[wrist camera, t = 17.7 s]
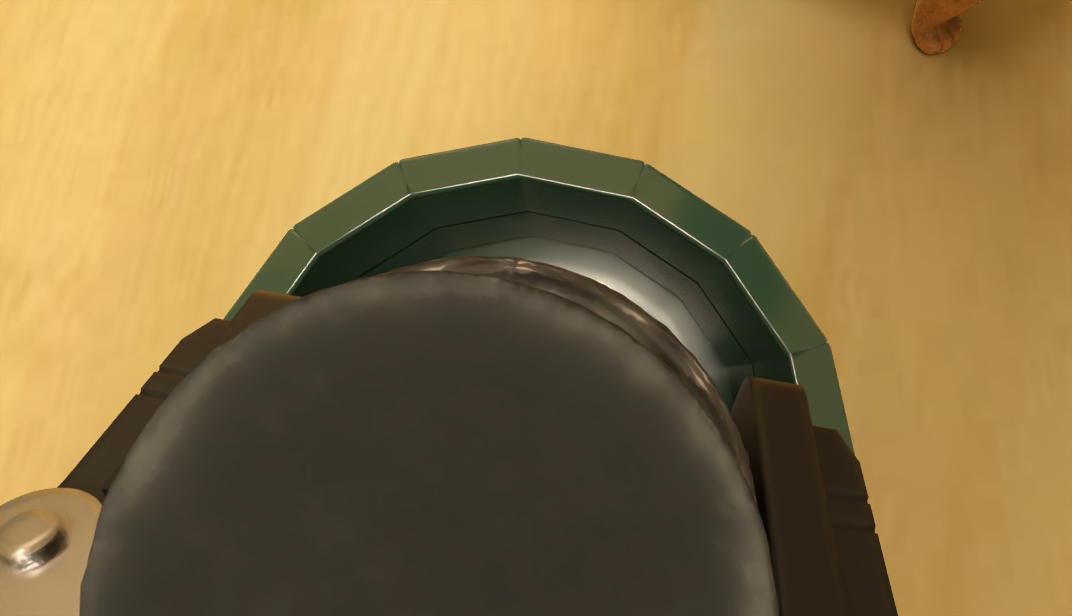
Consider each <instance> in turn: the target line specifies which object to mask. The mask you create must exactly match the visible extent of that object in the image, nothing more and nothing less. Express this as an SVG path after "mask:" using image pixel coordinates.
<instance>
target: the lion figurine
mask: <svg viewBox="0 0 1072 616" xmlns="http://www.w3.org/2000/svg"><path fill="white" fill-rule="evenodd" d="M980 1H982V0H917V2H916V6H915V11H914V15H913V19H912V24H911V31H912V34H913V37H914V40H915V43H916V44H917V46H918V47H919V48H920V49H921V50H922V51H923V52H926V53H928V54H936V53H941V52H944V51H946V50H948V49H949V48H950V47H951V46H952V45H954V44H955V43H956V41H957V40H958V39H959V37H960V35H961V34H960V29H961V27H962V20H961V19H960V18H959V17H957V15H959V14H960V13H962V12H963V11H965V10H967V9H968V8H970V7H971V6H973V5H975V4H977V3H979V2H980Z"/></svg>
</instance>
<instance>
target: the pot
mask: <svg viewBox="0 0 1072 616" xmlns="http://www.w3.org/2000/svg"><path fill="white" fill-rule="evenodd" d="M293 228H294V229H290V230H289V231H288V232H287V234H286V235H285V236H284V238H283V239H282V240H281V242H280V243H279V244H278V246H277V247H276V249H275V250H274V251H273V253H272V254H271V255H270V257H269V258H268V259H267V261H266V262H265V263H264V265H263V266H262V268H261V269H260V270H259V272H258V273H257V274H256V276H255V277H254V278H253V280H252V281H251V282H250V284H249V285H248V287H247V288H246V289H245V291H244V292H243V293H242V295H241V296H240V297H239V299H238V300H237V301H236V303H235V304H234V305H233V307H232V308H231V310H230V311H229V312H228V314H227V315H226V316H225V318H224V319H223V320H228V321H231V320H232V319H233V317H234V316H235V315H236V314H237V312H238V311H239V310H240V308H241V307H242V306H243V304H244V303H245V302H246V301H247V299H248V298H249V297H250V296H251V295H252V294H253V293H254V292H255V291H258V290H264V291H270V292H276V293H281V294H287V295H293V296H299V297H304V296H306V295H309V294H311V293H314V292H316V291H319V290H322V289H326V288H330V287H334V286H337V285H340V284H343V283H346V282H349V281H353V280H356V279H359V278H365V277H371V276H377V275H378V274H383V273H387V272H390V271H391V270H393V269H396V268H401V267H405V266H412V265H416V264H419V263H422V262H426V261H430V260H435V259H447V258H455V257H460V256H486V257H490V258H493V257H518V258H521V259H525V260H528V261H537V262H541V263H546V264H550V265H555V266H556V267H561V268H564V269H567V270H569V271H571V272H576V273H578V274H580V275H582V276H586V277H589V278H591V279H593V280H596V281H597V282H599V283H602V284H604V285H607V286H608V287H609V288H610V289H613V290H615V291H618V292H619V293H621V294H623V295H624V296H626V297H627V298H628V299H629V300H631V301H633V302H634V303H636V304H637V305H638V306H640V307H641V308H642V309H643V310H644V311H645V312H646V313H648V314H649V315H650V316H652V317H653V318H654V319H656V320H658V321H660V322H661V323H663V324H664V325H666V326H667V327H668V328H669V329H670V331H671V332H672V333H673V334H674V335H675V336H676V337H677V338H678V340H679V341H680V342H681V343H682V344H683V345H684V346H685V347H686V348H687V349H688V350H689V351H691V352H692V353H693V354H694V355H695V357H696V358H697V360H698V361H699V362H700V364H701V365H702V366H703V368H704V369H705V371H706V372H707V374H708V375H709V376H710V377H711V378H712V379H713V381H714V383H715V386H716V388H717V389H718V394H719V395H720V397H721V398H722V399H723V401H724V402H725V403H726V405H727V406H728V409H729V412H730V413H731V410H732V407H733V405H734V402H735V400H736V397H737V394H738V392H739V389H740V386H741V384H742V382H743V380H744V379H745V378H746V377H747V376H751V377H757V378H763V379H768V380H774V381H780V382H785V383H791V384H797V385H801V386H803V388H804V389H805V392H806V396H807V401H808V406H809V411H810V416H811V421H812V426H818V427H823V428H829V429H835V430H837V431H838V433H839V434H840V436H841V437H842V438H843V440H844V441H845V443H846V444H847V445H848V447H849V448H850V450H851V451H852V452H853V454H854V450H853V445H852V441H851V436H850V432H849V427H848V423H847V418H846V414H845V409H844V405H843V400H842V396H841V391H840V387H839V383H838V378H837V374H836V369H835V365H834V360H833V356H832V351H831V347H830V345H829V343H826V342H827V339H826V337H825V336H824V334H823V333H822V331H821V330H820V328H819V327H818V325H817V324H816V323H815V321H814V320H813V318H812V317H811V315H810V314H809V312H808V311H807V310H806V308H805V307H804V305H803V304H802V302H801V301H800V300H799V298H798V297H797V295H796V294H795V292H794V291H793V289H792V288H791V287H790V285H789V284H788V282H787V281H786V279H785V278H784V276H783V275H782V274H781V272H780V271H779V269H778V268H777V266H776V265H775V263H774V262H773V261H772V259H771V258H770V256H769V255H768V253H767V252H766V250H765V249H764V248H763V246H762V245H761V243H760V242H759V240H758V239H757V238H756V237H755V236H754V235H751V232H750V231H749V230H748V229H746V228H745V227H743V226H742V225H740V224H739V223H737V222H736V221H734V220H733V219H731V218H730V217H728V216H727V215H725V214H723V213H722V212H720V211H719V210H717V209H716V208H714V207H713V206H711V205H710V204H708V203H707V202H705V201H704V200H702V199H701V198H699V197H698V196H696V195H695V194H693V193H691V192H690V191H688V190H687V189H685V188H684V187H682V186H681V185H679V184H678V183H676V182H675V181H673V180H672V179H670V178H669V177H667V176H666V175H664V174H663V173H661V172H659V171H658V170H656V169H655V168H653V167H652V166H650V165H647V164H644V162H643V161H639V160H634V159H629V158H624V157H619V156H614V155H609V154H604V153H599V152H594V151H589V150H584V149H579V148H574V147H569V146H564V145H559V144H554V143H549V142H544V141H539V140H534V139H529V138H522V139H519V138H515V139H509V140H504V141H499V142H493V143H488V144H482V145H477V146H472V147H466V148H461V149H455V150H450V151H445V152H439V153H434V154H428V155H423V156H418V157H412V158H407V159H402V160H400V162H399V163H398V162H395V163H393V164H391V165H390V166H388V167H387V168H385V169H383V170H382V171H380V172H379V173H377V174H375V175H374V176H372V177H371V178H369V179H367V180H366V181H364V182H363V183H361V184H360V185H358V186H356V187H355V188H353V189H352V190H350V191H348V192H347V193H345V194H344V195H342V196H340V197H339V198H337V199H336V200H334V201H332V202H331V203H329V204H328V205H326V206H324V207H323V208H321V209H320V210H318V211H317V212H315V213H313V214H312V215H310V216H309V217H307V218H305V219H304V220H302V221H301V222H299V223H297V224H296V225H295V226H294V227H293ZM854 455H855V454H854Z"/></svg>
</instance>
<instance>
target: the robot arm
mask: <svg viewBox="0 0 1072 616" xmlns="http://www.w3.org/2000/svg"><path fill="white" fill-rule="evenodd" d="M298 298H301V297H299V296H293V295H287V294H281V293H276V292H270V291H264V290H258V291H255V292H254V293H253V294H252V295H251V296H250V297H249V298H248V299H247V301H246V302H245V303H244V304H243V306H242V307H241V308H240V310H239V311H238V312H237V314H236V315H235V316H234V317H233V319H232V320H231V321H228V320H222V319H216V318H215V319H213V320H212V321H210V322H209V323H207V324H205V325H204V326H202V327H201V328H199V329H197V330H196V331H194V332H193V333H191V334H189V335H188V336H186V337H185V338H183V339H182V340H181V341H180V342H179V343H178V345H177V346H176V347H175V348H174V349H173V351H172V352H171V353H170V354H169V355H168V357H167V358H166V359H165V360H164V361H163V363H162V364H161V365H160V366H159V367H160V369H159V371H158V372H154V373H153V375H152V376H151V377H150V378H149V379H148V381H147V382H146V383H145V384H144V385H143V387H142V388H141V392H140V394H139V395H137V394H136V395H135V396H134V397H133V399H132V400H131V401H130V402H129V403H128V405H127V406H126V407H125V408H124V409H123V411H122V412H121V413H120V414H119V415H118V417H117V418H116V419H115V420H114V421H113V423H112V424H111V425H110V426H109V427H108V429H107V430H106V431H105V432H104V433H103V434H102V436H101V437H100V438H99V439H98V440H97V442H96V443H95V444H94V445H93V446H92V448H91V449H90V450H89V451H88V452H87V454H86V455H85V456H84V457H83V458H82V460H81V461H80V462H79V463H78V464H77V466H76V467H75V468H74V469H73V470H72V472H71V473H70V474H69V475H68V476H67V478H66V479H65V480H64V481H63V482H62V483H61V484H60V485H59V486H58V487H57V488H52V489H44V490H39V491H35V492H31V493H28V494H25V495H23V496H20V497H18V498H15V499H13V500H11V501H9V502H7V503H5V504H3V505H2V506H0V616H79V611H80V585H81V582H82V579H83V576H84V573H85V570H86V567H87V561H88V556H89V553H90V549H91V546H92V543H93V538H94V534H95V529H96V525H97V521H98V518H99V515H100V511H101V508H102V505H103V502H104V500H105V497H106V495H107V493H108V491H109V488H110V486H111V484H112V482H113V481H114V479H115V477H116V476H117V474H118V473H119V471H120V469H121V468H122V465H123V463H124V461H125V459H126V456H127V454H128V452H129V450H130V449H131V447H132V445H133V444H134V442H135V441H136V439H137V438H138V436H139V434H140V433H141V431H142V430H143V428H144V427H145V426H146V424H147V423H148V421H149V420H150V418H151V417H152V415H153V414H154V413H155V411H156V410H157V409H158V408H159V407H160V405H161V404H162V403H163V402H164V400H165V399H166V398H167V397H168V395H169V394H170V393H171V392H172V391H173V389H174V388H175V387H176V386H177V385H178V384H179V383H180V381H181V380H182V379H184V378H185V377H186V376H187V375H188V374H189V373H190V372H191V371H192V370H193V369H194V368H195V367H197V366H198V365H199V364H200V363H201V362H202V361H203V360H204V359H205V357H206V356H207V355H208V354H209V353H210V352H211V351H212V350H213V349H214V348H215V347H217V346H218V345H220V344H222V343H224V342H225V341H227V340H229V339H230V338H232V337H233V336H235V335H236V334H238V333H239V332H241V331H242V330H244V329H245V328H247V327H248V326H249V325H250V324H251V323H253V322H255V321H257V320H259V319H260V318H262V317H264V316H265V315H266V314H268V313H270V312H272V311H274V310H276V309H278V308H280V307H282V306H284V305H286V304H288V303H290V302H291V301H293V300H296V299H298ZM730 415H731V418H732V419H733V421H734V423H735V424H736V426H737V428H738V430H739V433H740V435H741V438H742V442H743V446H744V448H745V450H746V452H747V453H748V455H749V458H750V470H751V472H752V475H753V478H754V482H753V484H754V487H755V496H756V499H757V506H758V510H759V513H760V516H761V519H762V522H763V525H764V528H765V532H766V536H767V540H768V544H769V550H770V556H771V563H772V569H773V576H774V582H775V587H776V592H777V598H778V605H779V616H898V614H897V610H896V606H895V602H894V598H893V594H892V590H891V586H890V582H889V578H888V574H887V570H886V566H885V562H884V558H883V554H882V550H881V546H880V542H879V538H878V534H876V533H875V522H874V518H873V514H872V510H871V506H870V504H868V503H867V500H868V494H867V490H866V486H865V482H864V478H863V474H862V470H861V466H860V462H859V461H858V460H857V458H856V457H855V455H854V454H853V452H852V451H851V450H850V448H849V447H848V445H847V444H846V443H845V441H844V440H843V438H842V437H841V436H840V434H839V433H838V431H837V430H835V429H829V428H823V427H818V426H812V421H811V416H810V411H809V406H808V401H807V396H806V392H805V389H804V388H803V386H801V385H797V384H791V383H785V382H780V381H774V380H768V379H763V378H757V377H751V376H747V377H746V378H745V379H744V380H743V382H742V384H741V386H740V389H739V392H738V394H737V397H736V400H735V402H734V405H733V407H732V410H731V413H730Z"/></svg>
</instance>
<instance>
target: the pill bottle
mask: <svg viewBox="0 0 1072 616" xmlns="http://www.w3.org/2000/svg"><path fill="white" fill-rule="evenodd" d="M753 482H754V478H753V475H752V472H751V470H750V458H749V455H748V453H747V452H746V450H745V448H744V446H743V442H742V438H741V435H740V433H739V430H738V428H737V426H736V424H735V423H734V421H733V419H732V418H731V415H730V412H729V409H728V406H727V405H726V403H725V402H724V401H723V399H722V398H721V397H720V395H719V394H718V389H717V388H716V386H715V383H714V381H713V379H712V378H711V377H710V376H709V375H708V374H707V372H706V371H705V369H704V368H703V366H702V365H701V364H700V362H699V361H698V360H697V358H696V357H695V355H694V354H693V353H692V352H691V351H689V350H688V349H687V348H686V347H685V346H684V345H683V344H682V343H681V342H680V341H679V340H678V338H677V337H676V336H675V335H674V334H673V333H672V332H671V331H670V329H669V328H668V327H667V326H666V325H664V324H663V323H661V322H660V321H658V320H656V319H654V318H653V317H652V316H650V315H649V314H648V313H646V312H645V311H644V310H643V309H642V308H641V307H640V306H638V305H637V304H636V303H634V302H633V301H631V300H629V299H628V298H627V297H626V296H624V295H623V294H621V293H619V292H618V291H615V290H613V289H610V288H609V287H608V286H607V285H604V284H602V283H599V282H597V281H596V280H593V279H591V278H589V277H586V276H582V275H580V274H578V273H576V272H571V271H569V270H567V269H564V268H561V267H556V266H555V265H550V264H546V263H541V262H537V261H528V260H525V259H521V258H518V257H493V258H490V257H486V256H460V257H455V258H447V259H435V260H430V261H426V262H422V263H419V264H416V265H412V266H405V267H401V268H396V269H393V270H391V271H390V272H387V273H383V274H378V275H377V276H371V277H365V278H359V279H356V280H353V281H349V282H346V283H343V284H340V285H337V286H334V287H330V288H326V289H322V290H319V291H316V292H314V293H311V294H309V295H306V296H304V297H301V298H298V299H296V300H293V301H291V302H290V303H288V304H286V305H284V306H282V307H280V308H278V309H276V310H274V311H272V312H270V313H268V314H266V315H265V316H264V317H262V318H260V319H259V320H257V321H255V322H253V323H251V324H250V325H249V326H248V327H247V328H245V329H244V330H242V331H241V332H239V333H238V334H236V335H235V336H233V337H232V338H230V339H229V340H227V341H225V342H224V343H222V344H220V345H218V346H217V347H215V348H214V349H213V350H212V351H211V352H210V353H209V354H208V355H207V356H206V357H205V359H204V360H203V361H202V362H201V363H200V364H199V365H198V366H197V367H195V368H194V369H193V370H192V371H191V372H190V373H189V374H188V375H187V376H186V377H185V378H184V379H182V380H181V381H180V383H179V384H178V385H177V386H176V387H175V388H174V389H173V391H172V392H171V393H170V394H169V395H168V397H167V398H166V399H165V400H164V402H163V403H162V404H161V405H160V407H159V408H158V409H157V410H156V411H155V413H154V414H153V415H152V417H151V418H150V420H149V421H148V423H147V424H146V426H145V427H144V428H143V430H142V431H141V433H140V434H139V436H138V438H137V439H136V441H135V442H134V444H133V445H132V447H131V449H130V450H129V452H128V454H127V456H126V459H125V461H124V463H123V465H122V468H121V469H120V471H119V473H118V474H117V476H116V477H115V479H114V481H113V482H112V484H111V486H110V488H109V491H108V493H107V495H106V497H105V500H104V502H103V505H102V508H101V511H100V515H99V518H98V521H97V525H96V529H95V534H94V538H93V543H92V546H91V549H90V553H89V556H88V561H87V567H86V570H85V573H84V576H83V579H82V582H81V585H80V611H79V616H779V605H778V598H777V592H776V587H775V582H774V576H773V569H772V563H771V556H770V550H769V544H768V540H767V536H766V532H765V528H764V525H763V522H762V519H761V516H760V513H759V510H758V506H757V499H756V496H755V487H754V484H753Z"/></svg>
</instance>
